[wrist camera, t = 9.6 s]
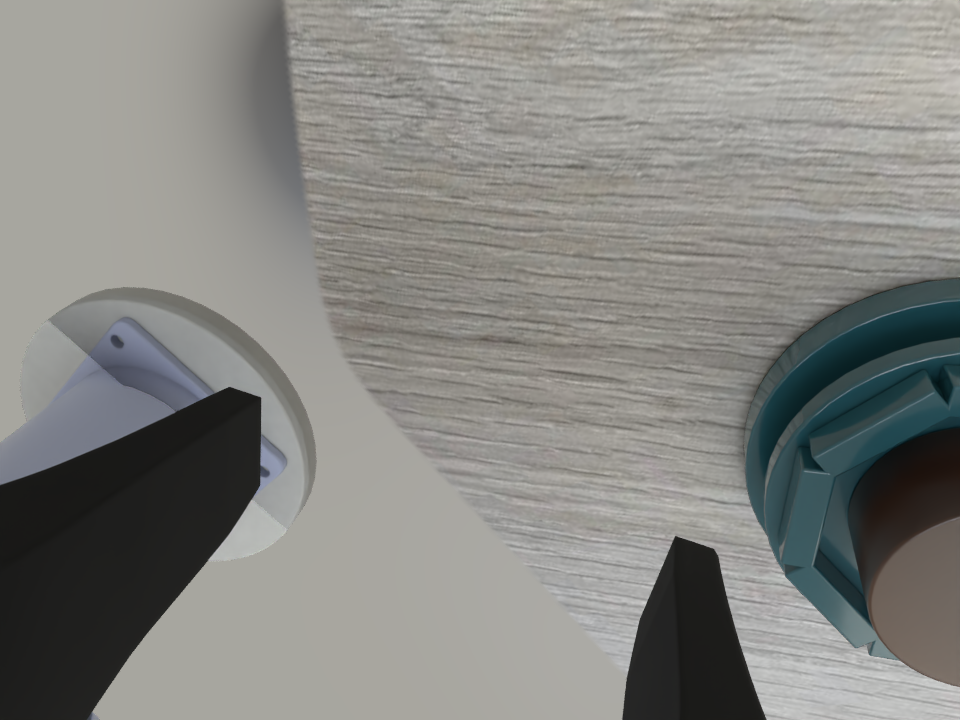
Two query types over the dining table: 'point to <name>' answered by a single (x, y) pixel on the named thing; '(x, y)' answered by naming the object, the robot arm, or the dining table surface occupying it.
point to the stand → (847, 432)
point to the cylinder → (913, 552)
